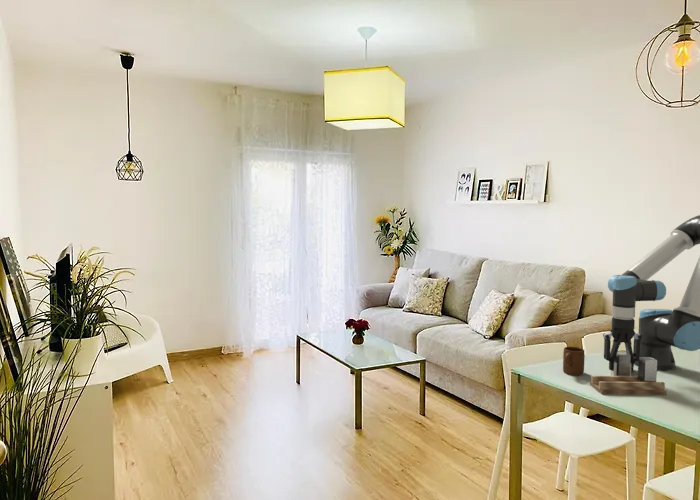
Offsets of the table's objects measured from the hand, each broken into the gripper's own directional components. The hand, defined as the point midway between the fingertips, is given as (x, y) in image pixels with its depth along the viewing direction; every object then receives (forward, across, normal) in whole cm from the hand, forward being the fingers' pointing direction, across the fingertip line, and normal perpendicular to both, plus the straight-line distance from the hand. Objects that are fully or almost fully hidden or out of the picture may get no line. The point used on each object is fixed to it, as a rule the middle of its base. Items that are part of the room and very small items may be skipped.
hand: (620, 378), depth 197 cm
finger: (-1, -4, +11) cm, 12 cm away
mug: (+1, +16, -6) cm, 17 cm away
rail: (0, +3, +11) cm, 11 cm away
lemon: (+1, -6, -11) cm, 13 cm away
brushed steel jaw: (0, 0, 0) cm, 0 cm away
